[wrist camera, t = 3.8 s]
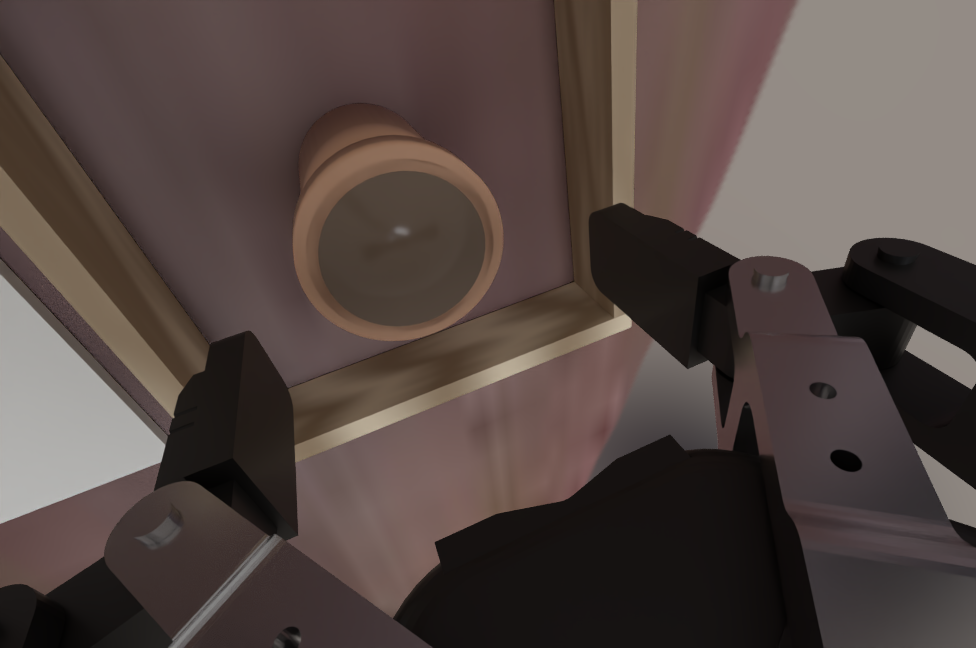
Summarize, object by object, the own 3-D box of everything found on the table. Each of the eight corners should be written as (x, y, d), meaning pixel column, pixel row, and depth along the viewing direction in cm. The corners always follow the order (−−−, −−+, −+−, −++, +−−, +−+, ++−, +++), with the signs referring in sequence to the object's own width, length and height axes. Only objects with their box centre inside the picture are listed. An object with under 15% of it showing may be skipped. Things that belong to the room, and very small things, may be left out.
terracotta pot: (325, 256, 20) (343, 369, 14) (261, 118, 17) (248, 188, 11) (449, 215, 21) (517, 303, 15) (413, 76, 18) (483, 117, 12)
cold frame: (240, 423, 23) (229, 549, 18) (-173, -112, 11) (-589, -219, 6) (590, 290, 27) (669, 361, 22) (566, -224, 15) (733, -355, 9)
